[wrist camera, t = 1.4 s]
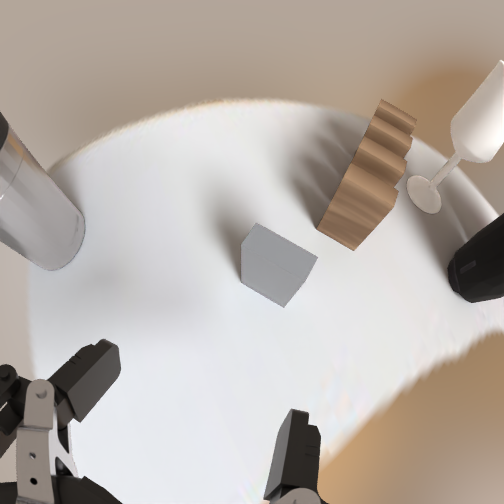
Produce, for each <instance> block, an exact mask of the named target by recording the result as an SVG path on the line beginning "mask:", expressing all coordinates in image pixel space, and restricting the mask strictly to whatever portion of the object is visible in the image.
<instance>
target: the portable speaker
mask: <svg viewBox="0 0 504 504" xmlns="http://www.w3.org/2000/svg"><path fill="white" fill-rule="evenodd" d="M448 275H449V281H450V284H451V286H452V289H453V291H455V292H458V293H459V294H460V295H461V296H462V297H463V298H464V299H465V300H467V301H469V302H471V303H475V302H481V301H486V300H492V299H497V298H501V297H503V296H504V213H503V214H502V215H501V216H499V217H498V218H497V219H495V220H494V221H493V222H491V223H490V224H489V225H487V226H486V227H485V228H483V229H482V230H481V231H479V232H478V233H477V234H476V235H474V236H473V237H472V238H471V239H470V240H469V241H468V242H467V243H466V244H465V245H463V246H462V247H461V248H460V249H459V250H458V251H457V252H456V253H455V255H454V257H453V259H452V260H451V262H450V263H449V266H448Z"/></svg>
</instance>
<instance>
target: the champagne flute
mask: <svg viewBox="0 0 504 504" xmlns="http://www.w3.org/2000/svg"><path fill="white" fill-rule="evenodd" d="M451 136H452V140H453V145H454V148H455V151H456V152H455V153H454V155H453V156H452V157H451V158H450V159H449V161H448V162H447V163H446V164H445V165H444V167H443V168H442V169H441V170H440V171H439V172H438V174H437V175H436V176H435V177H434V178H433V179H432V180H431V182H430V181H429V180H427V179H426V178H424V177H422V176H418V175H414V176H411V177H410V178H409V179H408V180H407V191H408V194H409V196H410V198H411V199H412V201H413V202H414V203H415V205H416V206H417V207H419V208H420V209H421V210H422V211H424V212H426V213H430V214H434V213H437V212H438V211H439V210H440V209H441V197H440V194H439V192H438V190H437V189H436V187H437V186H438V185H439V184H440V183H441V182H442V181H443V179H444V178H445V177H446V176H447V175H448V174H449V173H450V172H451V171H452V169H453V168H454V167H455V166H456V165H457V164H458V163H459V161H460V160H461V159H462V158H463V159H464V160H467V161H472V162H477V163H484V162H488V161H490V160H491V159H492V158H493V157H494V155H495V154H496V152H497V151H498V150H499V148H500V147H501V145H502V144H503V142H504V62H503V61H502V60H500V61H499V62H498V64H497V65H496V66H495V68H494V69H493V70H492V71H491V73H490V74H489V75H488V77H487V78H486V79H485V80H484V82H483V83H482V84H481V85H480V87H479V88H478V89H477V90H476V91H475V93H474V94H473V95H472V96H471V98H470V99H469V100H468V101H467V102H466V103H465V104H464V106H463V107H462V108H461V109H460V110H459V112H458V113H457V114H456V115H455V116H454V117H453V119H452V121H451Z"/></svg>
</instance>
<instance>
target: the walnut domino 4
mask: <svg viewBox="0 0 504 504" xmlns="http://www.w3.org/2000/svg"><path fill="white" fill-rule="evenodd" d="M398 192H399V191H398V190H396V189H395V188H393V187H392V186H390V185H388V184H387V183H385V182H383V181H382V180H380V179H378V178H377V177H375V176H373V175H372V174H370V173H368V172H366V171H365V170H363V169H361V168H359V167H358V166H356V165H354V164H352V163H350V165H349V167H348V169H347V171H346V173H345V175H344V177H343V179H342V181H341V183H340V185H339V187H338V189H337V191H336V193H335V195H334V197H333V198H332V200H331V202H330V204H329V206H328V208H327V210H326V212H325V214H324V216H323V218H322V219H321V221H320V223H319V225H318V227H317V229H316V230H318V231H320V232H322V233H323V234H325V235H327V236H329V237H330V238H332V239H334V240H336V241H337V242H339V243H341V244H343V245H344V246H346V247H348V248H349V249H351V250H353V251H354V250H355V249H356V248H357V247H358V246H359V245H360V244H361V243H362V242H363V241H364V240H365V238H366V237H367V236H368V235H369V234H370V233H371V232H372V231H373V230H374V229H375V228H376V226H377V225H378V224H379V223H380V222H381V221H382V220H383V219H384V217H385V216H386V215H387V214H388V213H389V212H390V211H391V210H392V208H393V207H394V205H395V202H396V198H397V195H398Z"/></svg>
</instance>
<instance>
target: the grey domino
mask: <svg viewBox="0 0 504 504" xmlns="http://www.w3.org/2000/svg"><path fill="white" fill-rule="evenodd" d="M317 258H318V257H317V256H315V255H313V254H312V253H310V252H308V251H306V250H305V249H303V248H301V247H299V246H297V245H296V244H294V243H292V242H290V241H289V240H287V239H285V238H283V237H281V236H280V235H278V234H276V233H274V232H272V231H271V230H269V229H267V228H265V227H263V226H262V225H260V224H258V223H255V225H254V226H253V228H252V229H251V231H250V232H249V234H248V235H247V237H246V238H245V240H244V241H243V242H242V244H241V283H243V284H244V285H246V286H248V287H249V288H251V289H253V290H254V291H256V292H258V293H260V294H261V295H263V296H265V297H266V298H268V299H270V300H272V301H273V302H275V303H277V304H278V305H280V306H282V307H285V305H286V304H287V303H288V302H289V301H290V299H291V298H292V297H293V296H294V294H295V293H296V292H297V291H298V290H299V288H300V287H301V286H302V285H303V283H304V282H305V281H306V279H307V277H308V275H309V273H310V271H311V270H312V268H313V266H314V264H315V262H316V260H317Z"/></svg>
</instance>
